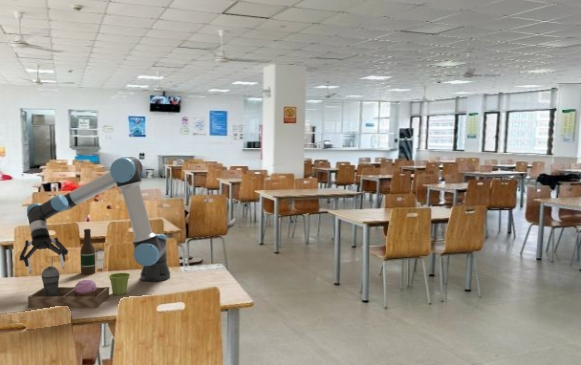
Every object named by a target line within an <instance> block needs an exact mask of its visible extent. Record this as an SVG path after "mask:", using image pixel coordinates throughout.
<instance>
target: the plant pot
mask: <svg viewBox="0 0 581 365" xmlns="http://www.w3.org/2000/svg"><path fill="white" fill-rule="evenodd" d="M130 277H131V274H130V273H128V272H116V273H111V274H109V275H108V278H109V280H110V285H111V290H112V294H113V295H116V296H121V295H124V294H127V292H128V291H127V290H128V285H129V284H128V283H129V278H130Z"/></svg>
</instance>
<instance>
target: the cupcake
mask: <svg viewBox="0 0 581 365" xmlns="http://www.w3.org/2000/svg"><path fill="white" fill-rule="evenodd" d="M74 287H75V292H77V296H78V297H94V295H95V291H96V289H97V287H98V286H97V284H96V282H95V281H94V280H92V279H84V280H79V281H78V282H77V283H76V284H75V286H74Z"/></svg>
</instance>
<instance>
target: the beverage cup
mask: <svg viewBox="0 0 581 365" xmlns="http://www.w3.org/2000/svg"><path fill="white" fill-rule="evenodd" d="M53 264H54V256H51V265H50V266H48V267H45V268H44V269H43V271H42V272H41V277H40V278H41V280H42V285H43V288H44V292H45V297H58V287H59V282H60V275H61V274H60V271H59V270H58V268H57V267H55V266H54V265H53Z"/></svg>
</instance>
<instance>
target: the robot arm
mask: <svg viewBox="0 0 581 365" xmlns="http://www.w3.org/2000/svg"><path fill="white" fill-rule="evenodd" d="M142 172H143V164H142V162H141V160H139V159H138V158H136V157H133V156H123V157H119V158H117V159H115V160H114V161H113V162H112V163H111V165H110V169H109V171H108V172H106V173H104V174H103V175H100V176H98V177H96V178H95V179H93V180H91V181H89V182H87V183H85V184H83V185H82V186H79V187H76V188H75V189H73V190H72V191H70V192H67V193H66V194H63V195H62V194H58V195H56V196H53V197H52V198H50V199H48V200H47V201H45V202H44V203H39V202H35V203H31V204H29V205H27V208H26V216H27V220H28V224H29V230H30V232H29V233H30V237H31V241H30V240H28V239H27V240H25V242H24V247H23V248H22V251H21V253H20V255H19V261H23V262H24V267H26V268H27V269H28V274H32V270H33V269H32V264H31V260H30V257H32V255H33V254H35V252H36V251H37V250H47V249H48V250H50V251H53V252H54V253H56V254H57V255H58V256H59V261H60V262H59V263H60V265H61V270H63V269H65V263H66V256H68V253H69V250H68V249H67V248H66V247H65V246H64V245H63V243H61V242H60V240H59V238H58V237H54V238H51V236H50V232H49V227H48V223H47V220H49V219H50V218H51V217H53V216H55V215H57V214H59V213H63V212H65V211H69V210H71V209H73V208H75V207H76V206H78V205H80V204H82V203H84V202H86V201H88V200H89V199H92V198H93V197H95V196H98V195H100V194H101V193H103V192H105V191H107V190H109V189H111V188H113V187H115V186H116V187H117V189H120V190H121V193H122V196H123V199H124V204H125V207H126V211H127V214H128V217H129V218H128V219H129V221H130V224H131V228H132V232H133V235H134V236H133V237H134V238H133V239H132V244H133V248H134V249H133V250H134V251H133V258H134V260H135V262H136V263H137V264H138V265H140V266H142V269H141V272H140V280H141V281H145V282H160V281H161V282H162V281H166V280H168V279H170V278H171V271H170V268H169V264H168V255H167V254H168V253H167V252H168V250H167V249H168V248H167V247H168V246H167V245H168V244H167V242H168V240H167V239H168V238H167V235H166V234H162V233H155V232H153V229H152V226H151V223H150V219H149V218H150V217H149V215H148V212H147V209H146V208H147V207H146V204H145V201H144V197H143V194H142V189H141V183H143V182H142V178H141V175H142ZM30 246H32V248H31V249H30V250H29V251H28V249H29V247H30ZM27 251H28V252H27Z"/></svg>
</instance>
